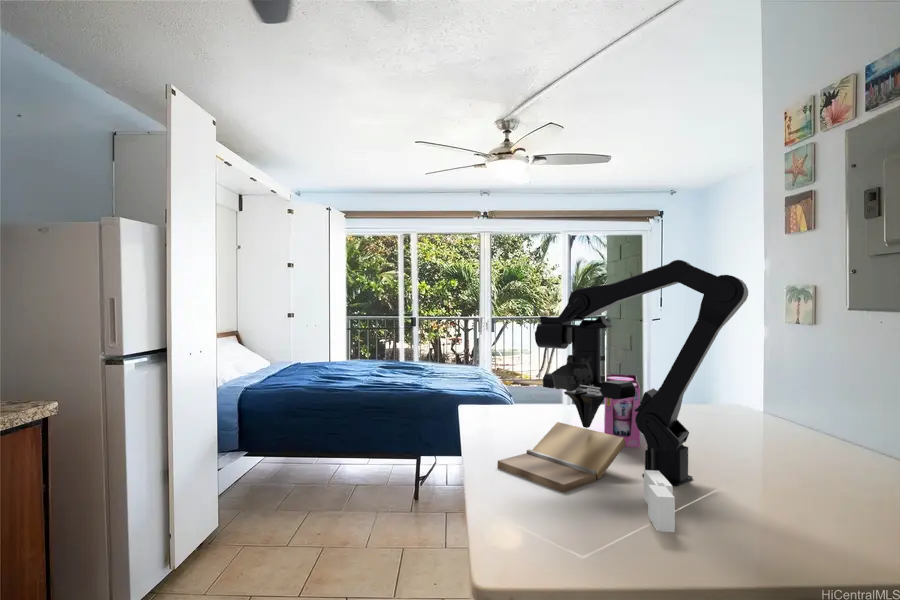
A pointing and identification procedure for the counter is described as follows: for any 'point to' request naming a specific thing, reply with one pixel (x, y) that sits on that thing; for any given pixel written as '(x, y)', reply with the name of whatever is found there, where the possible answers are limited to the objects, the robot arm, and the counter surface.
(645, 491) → the napkin holder
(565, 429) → the oak plank
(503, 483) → the counter surface
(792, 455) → the counter surface
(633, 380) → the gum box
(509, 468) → the walnut board
